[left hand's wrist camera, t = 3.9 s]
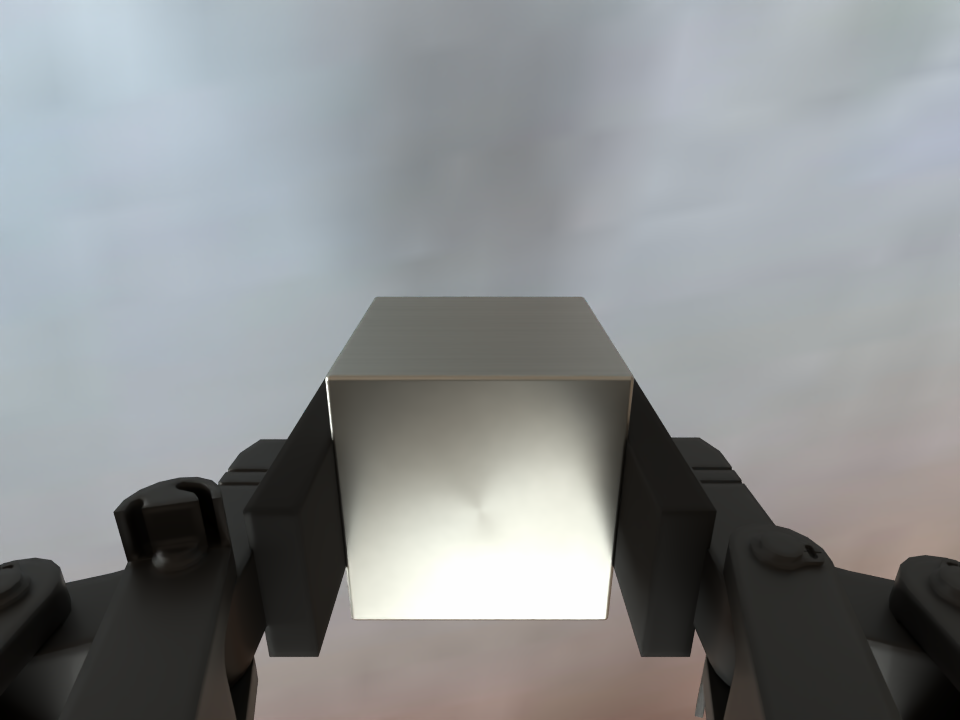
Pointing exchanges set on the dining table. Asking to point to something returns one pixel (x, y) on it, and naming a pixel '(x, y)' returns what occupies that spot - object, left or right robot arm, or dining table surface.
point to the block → (479, 458)
